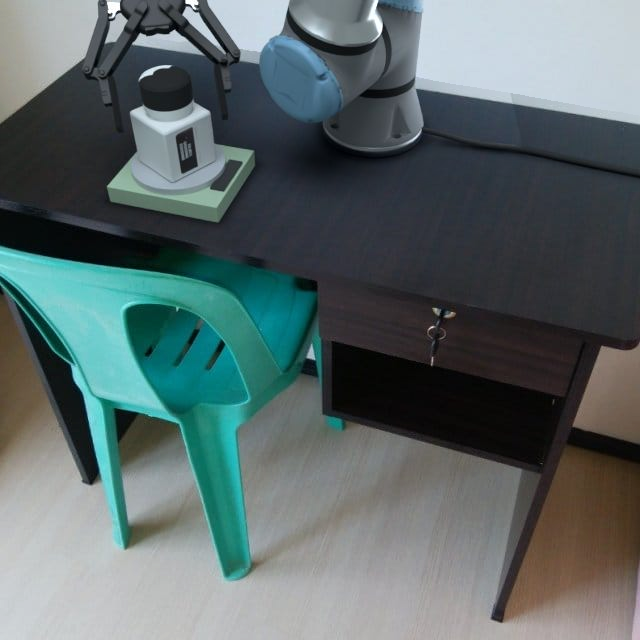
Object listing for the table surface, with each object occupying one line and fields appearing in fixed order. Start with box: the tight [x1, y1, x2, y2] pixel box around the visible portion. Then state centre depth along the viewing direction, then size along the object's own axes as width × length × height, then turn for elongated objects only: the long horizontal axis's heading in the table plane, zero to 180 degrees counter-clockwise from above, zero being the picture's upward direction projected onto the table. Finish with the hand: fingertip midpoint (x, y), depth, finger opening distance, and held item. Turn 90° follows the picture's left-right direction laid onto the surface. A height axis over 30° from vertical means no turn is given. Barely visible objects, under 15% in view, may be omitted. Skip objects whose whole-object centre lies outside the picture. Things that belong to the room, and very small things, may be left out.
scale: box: [106, 142, 256, 223], centre depth 105 cm, size 16×14×4 cm
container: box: [129, 64, 216, 182], centre depth 99 cm, size 8×8×13 cm
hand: (173, 124), depth 98 cm, fingers open, 13 cm apart
